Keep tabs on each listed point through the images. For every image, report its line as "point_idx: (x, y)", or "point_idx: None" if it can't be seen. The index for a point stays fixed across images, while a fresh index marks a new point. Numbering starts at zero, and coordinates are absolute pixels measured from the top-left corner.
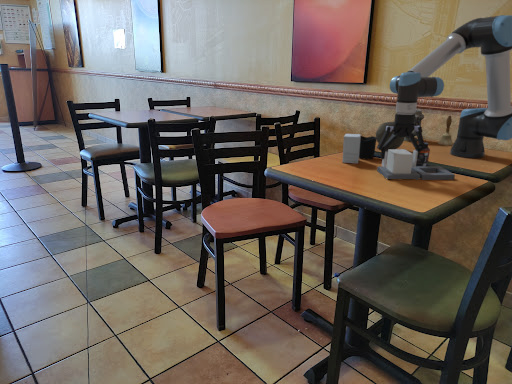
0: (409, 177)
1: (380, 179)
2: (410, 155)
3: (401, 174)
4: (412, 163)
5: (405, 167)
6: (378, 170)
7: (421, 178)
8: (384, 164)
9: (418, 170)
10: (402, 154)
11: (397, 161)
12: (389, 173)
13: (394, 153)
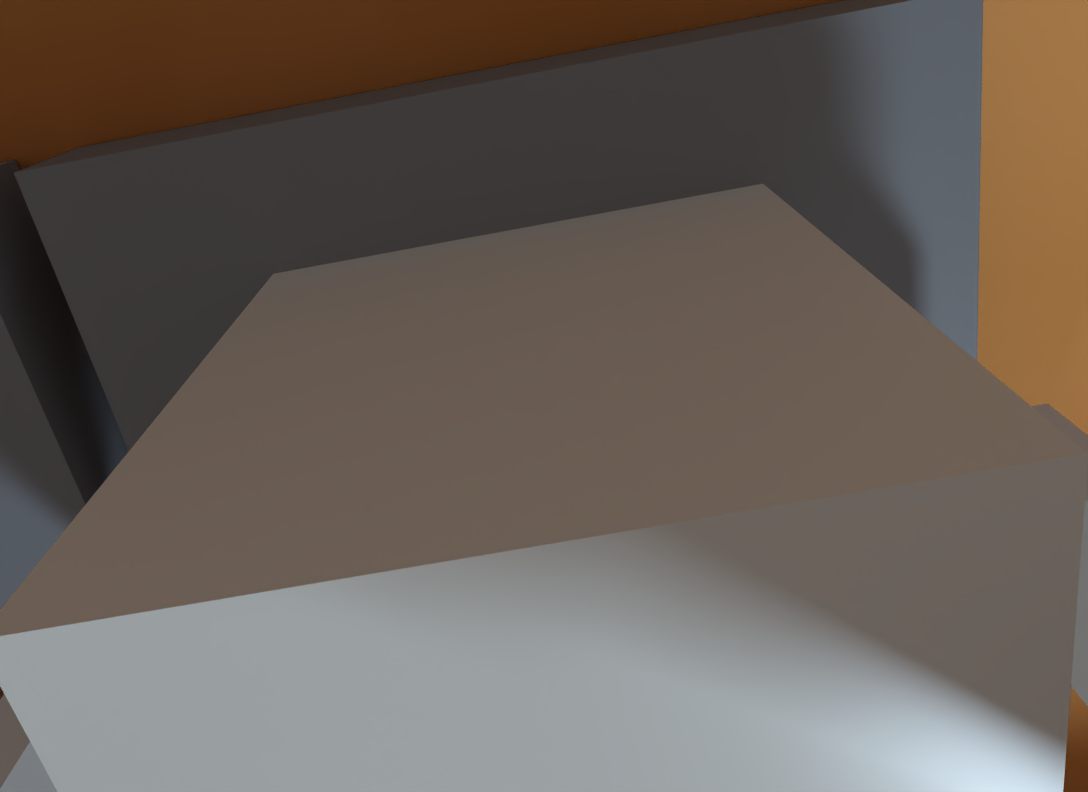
0: (327, 107)
1: (1081, 13)
2: (168, 568)
3: (549, 135)
4: None
5: (426, 304)
6: None
7: (20, 204)
8: (1083, 448)
9: None
10: (651, 528)
11: (792, 319)
12: (873, 186)
13: (1066, 666)
